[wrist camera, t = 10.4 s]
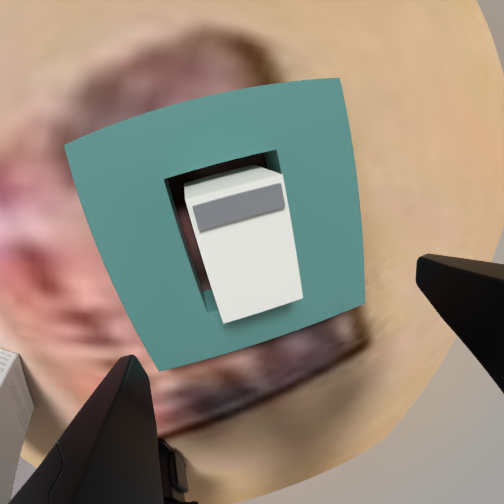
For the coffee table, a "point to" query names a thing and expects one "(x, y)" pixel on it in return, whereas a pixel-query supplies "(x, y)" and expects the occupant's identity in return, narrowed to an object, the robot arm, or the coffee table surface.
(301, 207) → the socket board
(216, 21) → the coffee table surface
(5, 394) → the supplement box
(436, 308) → the robot arm
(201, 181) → the plug
